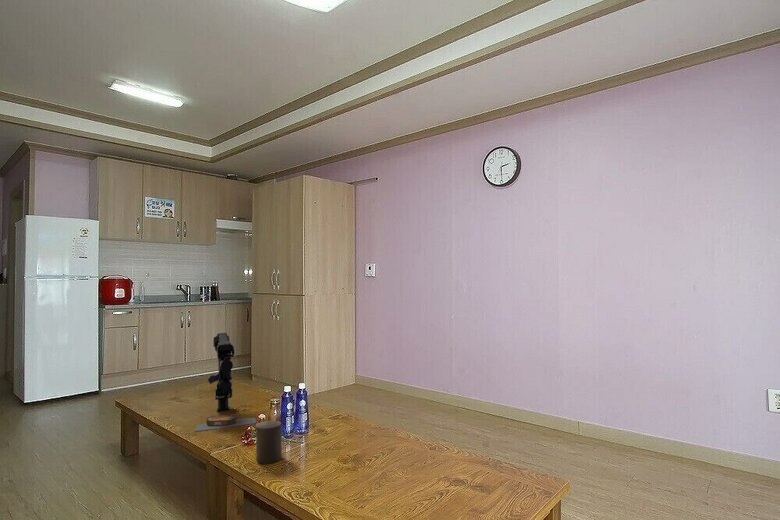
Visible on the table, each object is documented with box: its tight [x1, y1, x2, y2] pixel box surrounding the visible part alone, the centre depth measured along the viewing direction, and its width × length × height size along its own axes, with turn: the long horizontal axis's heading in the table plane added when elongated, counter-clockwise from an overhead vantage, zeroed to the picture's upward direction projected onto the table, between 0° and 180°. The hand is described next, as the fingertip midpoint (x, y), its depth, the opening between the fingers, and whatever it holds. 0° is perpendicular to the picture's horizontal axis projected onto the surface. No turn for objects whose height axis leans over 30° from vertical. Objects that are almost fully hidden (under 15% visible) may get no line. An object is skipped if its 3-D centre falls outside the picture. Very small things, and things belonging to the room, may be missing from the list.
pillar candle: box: [255, 420, 283, 465], centre depth 178 cm, size 10×10×15 cm
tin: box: [206, 414, 238, 425], centre depth 225 cm, size 15×3×8 cm
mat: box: [194, 416, 257, 432], centre depth 223 cm, size 10×28×1 cm, turn 109°
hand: (225, 397), depth 232 cm, fingers closed
